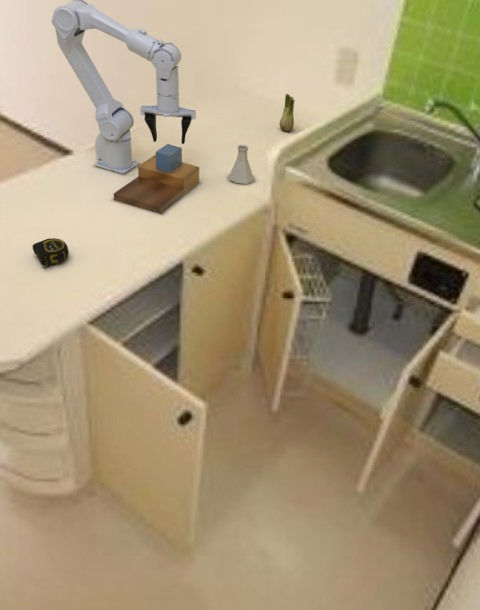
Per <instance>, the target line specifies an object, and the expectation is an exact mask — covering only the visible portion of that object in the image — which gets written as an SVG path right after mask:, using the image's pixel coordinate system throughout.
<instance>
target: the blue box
mask: <svg viewBox="0 0 480 610" xmlns="http://www.w3.org/2000/svg"><path fill="white" fill-rule="evenodd" d="M182 148H183V147H182V146H177V145H173V144H170V143H167V144H165V145H164V146H162V147H161V148H159V149H158V150H156V151H155V155H156V169H159V170H162V171H166V172H170V173H171V172H172V171H173V170H175V169H176V168H177V167H179V166H180V165H182V162H183V149H182Z"/></svg>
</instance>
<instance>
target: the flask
mask: <svg viewBox="0 0 480 610" xmlns="http://www.w3.org/2000/svg"><path fill="white" fill-rule="evenodd" d="M248 150H249V146H248V145H247V144H238V145H237V157H236V160H235V161H234V164H233V166H232V169H231V170H230V173H229V175H228V178H229V181H230V182H233V183H236V184H243V185H244V184H246V185H248V184H249V183H252V182H253V181H254V176H253V172H252V170H251V166H250V163H249V159H248Z"/></svg>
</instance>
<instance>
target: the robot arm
mask: <svg viewBox="0 0 480 610" xmlns="http://www.w3.org/2000/svg"><path fill="white" fill-rule="evenodd" d="M51 24H52V25H53V27H54V29H55V36H56V39H57V45H58V48H59V49H60V50H61V52H62V53H63V56H64V57H65V59H66V61H67V62H68V64H69V65H70V67H71V69H72V70H73V72H74V74H75V76H76V77H77V79H78V81H79V82H80V84H81V86H82V87H83V89H84V91H85V92H86V94H87V95H88V97H89V99H90V101H91V102H92V104H93V106H94V107H95V116H94V117H95V120H96V123H97V124H98V130H99V133H98V134H97V135H96V138H95V142H94V147H95V157H96V163H95V164H94V166H95V167H98V168H101V169H105V170H108V171H112V172H116V173H120V174H126V173H128V172H129V171H131V170H132V169H134V168H135V167H137V166H139V161H135V160H133V152H132V151H133V150H132V149H133V148H132V134H131V129H132V128H133V126H134V123H135V122H134V121H135V120H134V117H133V114H132V113H131V112H130V111H129V110H128V109H126V107H124V105H123V103H122V102H120V101H118V100H117V99H115V98H114V96H113V95H112V93H111V91H110V90H109V88H108V87H107V84H106V83H105V81H104V79H103V78H102V76H101V74H100V73H99V70H98V69H97V67H96V65H95V64H94V62H93V60H92V58H91V57H90V55H89V53H88V51H87V50H86V48H85V46H84V45H83V39H84V36H85V32H86V31H88V30H94V29H96V30H98V31H100V32H102V33H104V34H106V35H108V36H111V37H112V38H115V39H117V40H119V41H120V42H123V43H125V45H126V47H127V49H128V51H130V52H132V53H134V54H135V55H137V56H139V57H141V58H142V59H145V60H147V61H148V62H150V63H152V66H153V68H155V80H156V81H155V82H156V83H155V85H156V104H157V105H140V107H139V108H140V109H139V112H140V116H144V118H143V120H144V122H145V124H146V125H147V127H148V129H149V131H150V134H151V137H152V141H153V143H156V142H157V139H158V134H157V133H158V131H157V117H158V116H161V117H162V116H163V117H164V118H181V121H180V125H181V145H185V142H186V136H187V132H188V130H189V128H190V126H191V123H192V120H196V119H197V110H196V109H190V108H186V107H181V106H180V86H179V84H180V83H179V82H180V80H179V79H180V77H179V64H180V62H181V60H182V53H181V51H180V49H179V47H178V46H177V45H176V44H174V43H173V42H164V41H163V40H162V39H158V38H156V37H154V36H153V35H152V36H151V35H150V34H149V33H147V30H146V29H143V28H141V29H140V28H135V29H130V28H128V27H127V26H124V25H123V24H122V23H120V22H119V21H117V20H116V19H114V18H112V17H111V16H109V15H107V14H106V13H104V12H103V11H101V10H100V9H98V8H97V7H96V6H95V5H94V4H91V3H88V2H87V1H85V0H72V1H70V2H68V3H66V4H62V5H59V6H57V7H56V8H55V9H54V11H53V14H52V16H51Z"/></svg>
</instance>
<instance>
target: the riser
mask: <svg viewBox="0 0 480 610" xmlns="http://www.w3.org/2000/svg"><path fill="white" fill-rule="evenodd" d="M137 173H138V176H137V177H135V178H134V179H132V180H131V181H129V182H128V183H127V184H125V185H124V186H122V187H120V188H119V189H118V190H116V191H115V192H113V201H117V202H120V203H122V204H126V205H129V206H133V207H137V208H140V209H143V210H147V211H151V212H153V213H156V214H160V215H161V214H163V213H165V211H167V210H168V209H169V208H170V207H171V206H172V205H174V204H175V203H176V202H177V201H179V200H180V199H181V198H183V197H184V196H185V195H186V194H188V193H189V192H190V191H191V190H192V189H194V188H195V187H196V186H197V185H199V184H200V167H199V166H198V165H194V164H190V163H186V162H183V161H182V165H180V166H179V167H177V168H176V169H175V170H173V171H172V172H171V173H170V172H166V171H162V170H159V169H156V154H154V155H153V156H151V157H150V158H147V160H145V161H143V162H142V163H140V164H138V165H137Z"/></svg>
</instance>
